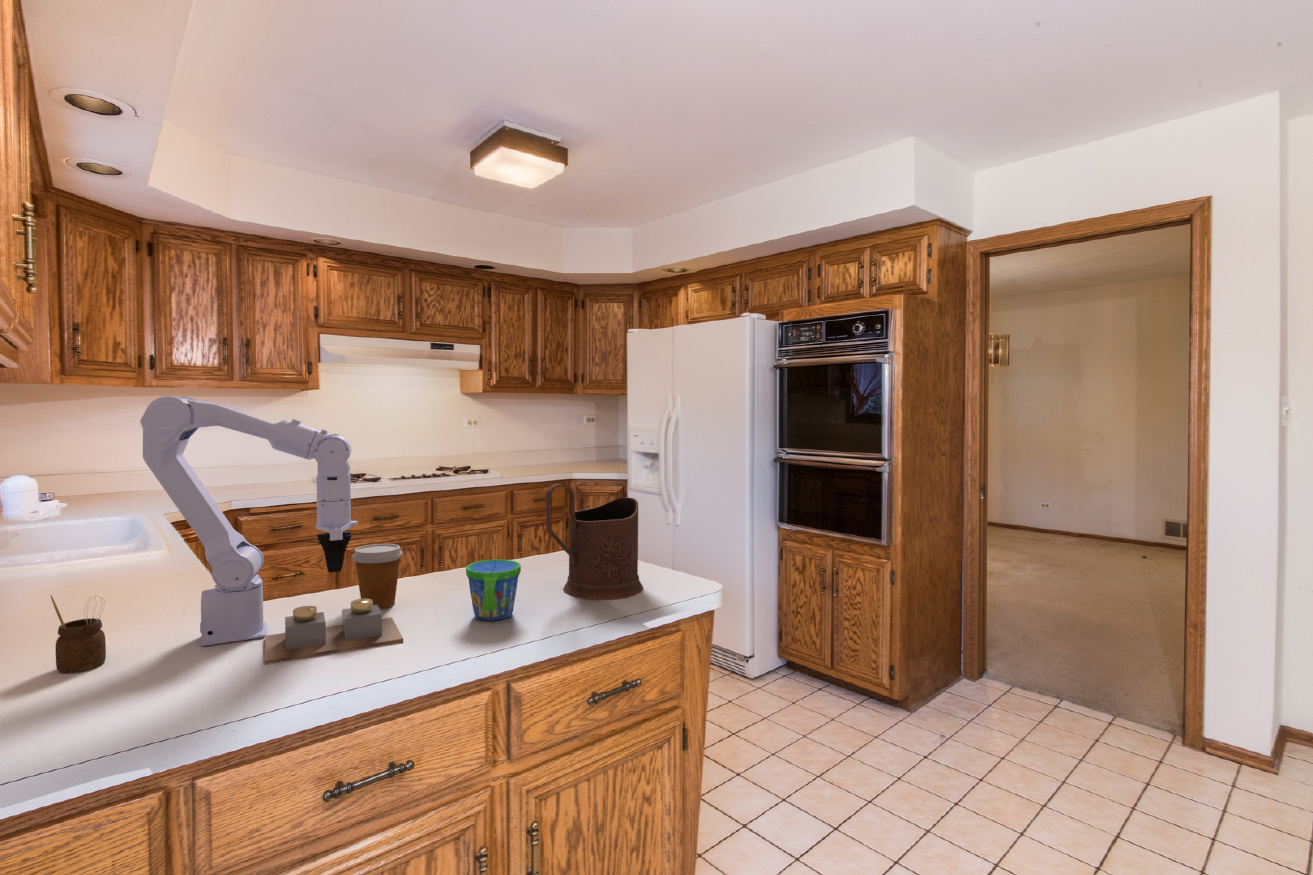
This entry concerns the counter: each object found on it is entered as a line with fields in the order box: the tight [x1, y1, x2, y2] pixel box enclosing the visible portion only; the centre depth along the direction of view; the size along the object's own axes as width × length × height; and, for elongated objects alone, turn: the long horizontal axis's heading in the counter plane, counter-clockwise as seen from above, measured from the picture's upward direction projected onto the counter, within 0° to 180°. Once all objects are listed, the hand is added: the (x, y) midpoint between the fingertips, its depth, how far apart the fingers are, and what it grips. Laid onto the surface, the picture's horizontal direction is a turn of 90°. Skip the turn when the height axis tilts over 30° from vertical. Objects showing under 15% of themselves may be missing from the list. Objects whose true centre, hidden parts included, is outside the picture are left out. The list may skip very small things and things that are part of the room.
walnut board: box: [264, 617, 404, 665], centre depth 116 cm, size 21×13×1 cm, turn 120°
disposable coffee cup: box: [352, 543, 403, 610], centre depth 136 cm, size 10×10×12 cm
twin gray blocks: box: [284, 605, 383, 650], centre depth 115 cm, size 15×6×4 cm, turn 120°
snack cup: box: [465, 559, 522, 622], centre depth 130 cm, size 16×10×10 cm
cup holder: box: [545, 483, 644, 601], centre depth 148 cm, size 18×24×25 cm
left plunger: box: [292, 605, 318, 621], centre depth 113 cm, size 4×4×6 cm
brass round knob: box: [350, 598, 373, 614], centre depth 118 cm, size 4×4×6 cm
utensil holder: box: [50, 595, 107, 674], centre depth 103 cm, size 6×6×12 cm
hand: (334, 571), depth 123 cm, fingers closed
